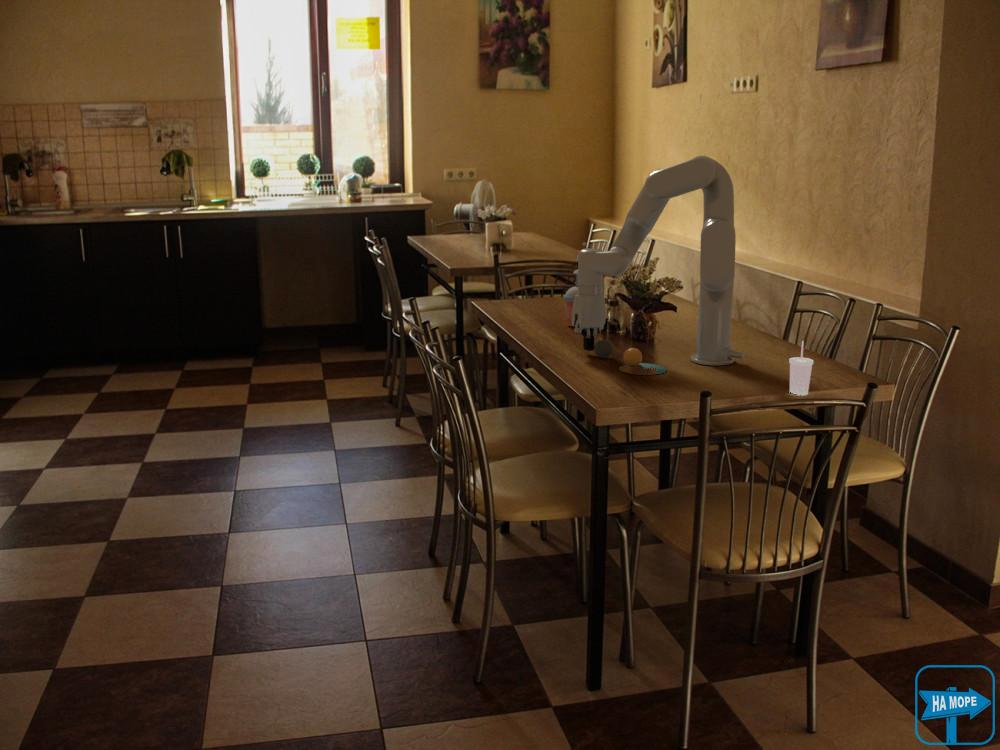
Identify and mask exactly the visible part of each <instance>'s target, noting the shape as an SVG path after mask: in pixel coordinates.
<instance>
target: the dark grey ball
mask: <svg viewBox="0 0 1000 750" xmlns="http://www.w3.org/2000/svg"><path fill="white" fill-rule="evenodd" d="M612 352H613V345H612V344H611V342H610V341H608V340H605V339H601V340H598V341H597V342H596V343H594V350H593V353H595V356H596V357H598V358H600V359H606V358H610V356H611V355H612Z"/></svg>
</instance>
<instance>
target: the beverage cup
mask: <svg viewBox="0 0 1000 750" xmlns="http://www.w3.org/2000/svg"><path fill="white" fill-rule="evenodd" d="M804 341H805V340H802V341H801V348H800V349H801V350H800V356H798V357H797V356H794V357H790V358H789V359H788V363H789V393H790V392H791V393H793V394H797V395H796V396H800V395H801V397H802V396H807V395H808V394H809V390H810V383H811V375H812V369H813V366H814V359H812V358H809V357H804V356H803V355H804V346H805V345H804V344H805V343H804ZM793 394H792V395H793Z"/></svg>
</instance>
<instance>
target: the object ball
mask: <svg viewBox="0 0 1000 750" xmlns="http://www.w3.org/2000/svg"><path fill="white" fill-rule="evenodd" d="M622 359H623V362H624V364H626V365H628V366H630V367H635V366H638V365H639V364H640V363H642V361H643V354H642V352H641V351H640V350H639V349H638V348H635V347H629V348H627V349H626V350H625V351H624V352H623V355H622Z"/></svg>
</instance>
